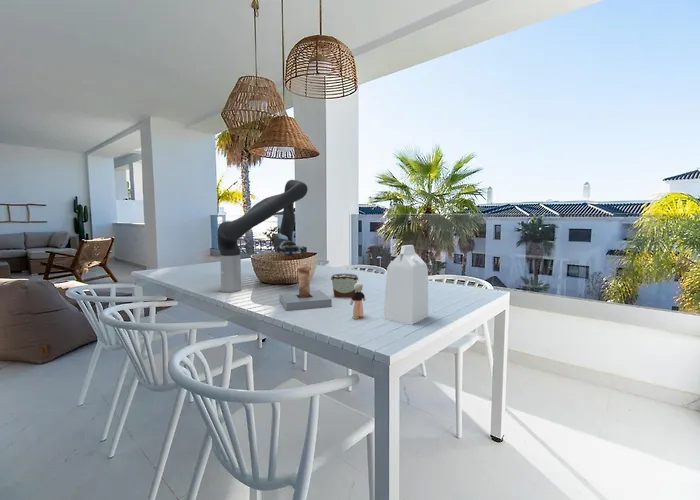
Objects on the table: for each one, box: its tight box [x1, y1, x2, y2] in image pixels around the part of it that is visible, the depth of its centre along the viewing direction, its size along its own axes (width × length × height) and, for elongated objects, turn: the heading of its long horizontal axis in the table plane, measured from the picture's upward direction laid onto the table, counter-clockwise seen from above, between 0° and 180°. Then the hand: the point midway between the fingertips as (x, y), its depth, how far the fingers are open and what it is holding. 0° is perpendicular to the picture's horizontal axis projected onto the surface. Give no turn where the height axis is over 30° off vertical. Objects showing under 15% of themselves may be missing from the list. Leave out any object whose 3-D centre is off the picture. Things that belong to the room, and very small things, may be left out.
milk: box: [383, 244, 429, 325], centre depth 125 cm, size 12×12×26 cm
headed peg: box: [296, 264, 312, 298], centre depth 146 cm, size 6×6×16 cm
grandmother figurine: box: [349, 281, 366, 320], centre depth 126 cm, size 8×4×13 cm, turn 148°
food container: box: [330, 273, 359, 299], centre depth 158 cm, size 12×6×10 cm, turn 84°
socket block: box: [278, 289, 333, 311], centre depth 146 cm, size 18×18×3 cm
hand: (293, 250), depth 163 cm, fingers open, 8 cm apart
